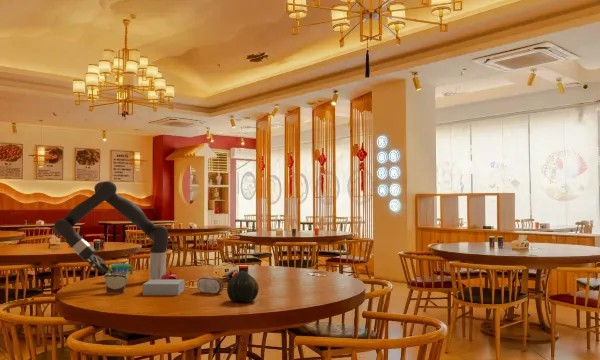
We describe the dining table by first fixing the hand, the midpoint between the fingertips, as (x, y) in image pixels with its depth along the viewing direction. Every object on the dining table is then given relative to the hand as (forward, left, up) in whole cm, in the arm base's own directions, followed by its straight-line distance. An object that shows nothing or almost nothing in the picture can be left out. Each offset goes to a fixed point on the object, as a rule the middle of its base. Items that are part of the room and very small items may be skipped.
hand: (106, 271), depth 266 cm
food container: (0, +6, -11) cm, 13 cm away
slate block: (+2, +30, -11) cm, 32 cm away
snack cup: (-39, -2, -11) cm, 41 cm away
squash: (+29, +71, -11) cm, 78 cm away
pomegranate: (-18, +30, -11) cm, 37 cm away
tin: (+6, +54, -11) cm, 56 cm away
